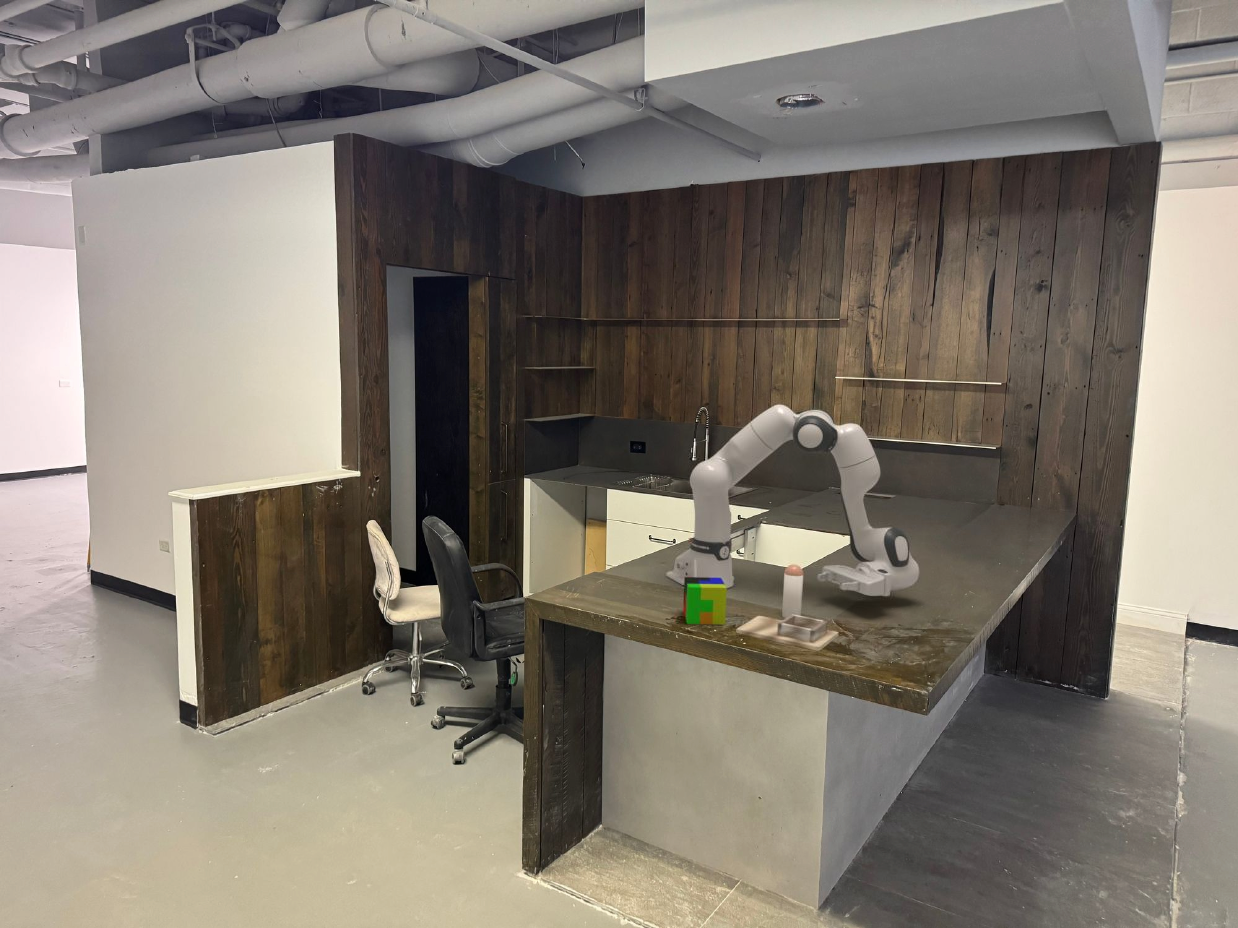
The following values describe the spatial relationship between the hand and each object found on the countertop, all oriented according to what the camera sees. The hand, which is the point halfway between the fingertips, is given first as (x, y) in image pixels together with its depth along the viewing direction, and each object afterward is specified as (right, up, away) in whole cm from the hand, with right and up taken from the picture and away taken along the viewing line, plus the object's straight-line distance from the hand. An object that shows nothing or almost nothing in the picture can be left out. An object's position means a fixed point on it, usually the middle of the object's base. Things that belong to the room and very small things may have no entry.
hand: (830, 582), depth 237 cm
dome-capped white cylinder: (-11, -9, -4) cm, 15 cm away
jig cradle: (-16, -11, -19) cm, 27 cm away
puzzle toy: (-36, -9, -7) cm, 38 cm away
